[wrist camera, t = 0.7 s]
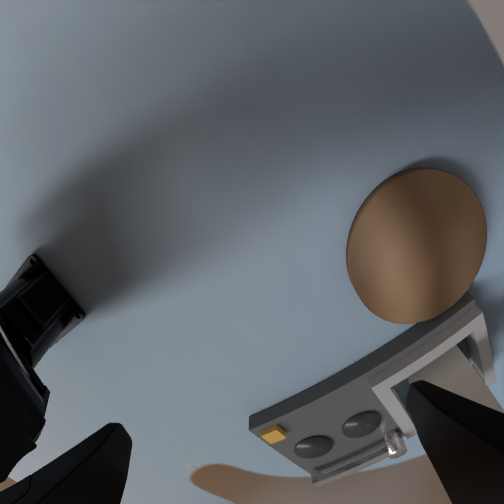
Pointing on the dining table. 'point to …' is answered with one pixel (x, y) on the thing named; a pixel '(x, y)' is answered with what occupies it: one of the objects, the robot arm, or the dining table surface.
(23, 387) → the robot arm
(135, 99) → the dining table surface
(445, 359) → the white carton with cap
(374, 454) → the lever
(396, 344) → the grey control panel
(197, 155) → the dining table surface
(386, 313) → the disc
